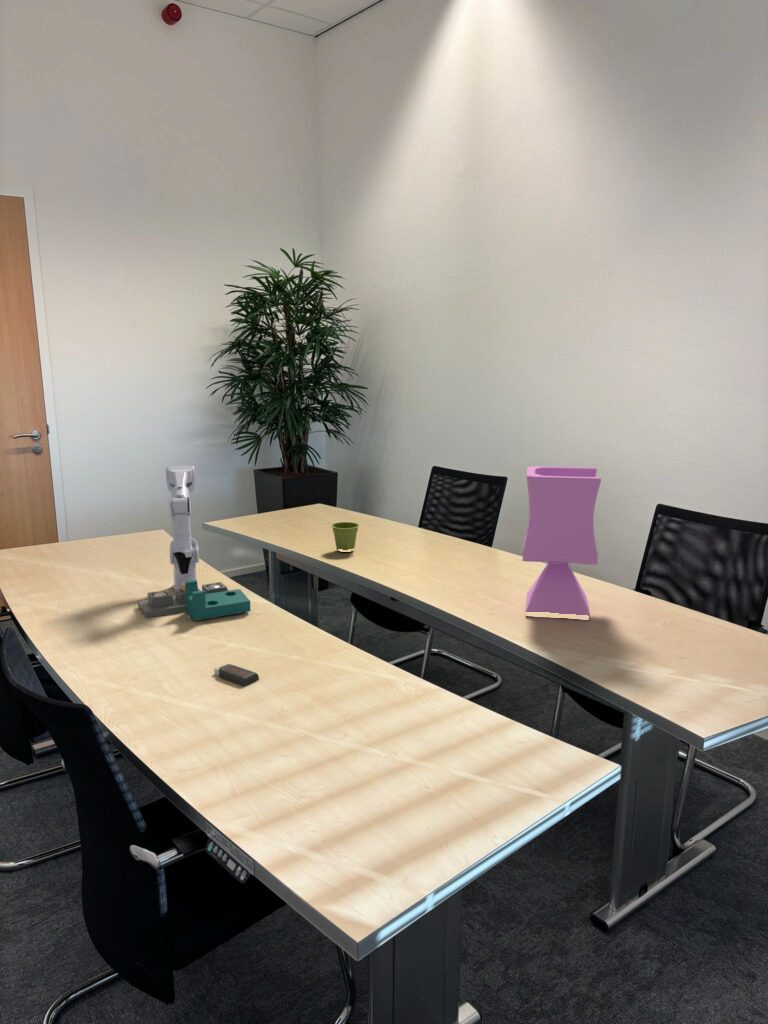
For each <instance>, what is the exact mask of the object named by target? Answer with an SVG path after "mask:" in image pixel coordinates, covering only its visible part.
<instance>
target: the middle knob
mask: <svg viewBox="0 0 768 1024" xmlns="http://www.w3.org/2000/svg"><path fill="white" fill-rule="evenodd" d="M181 592H182V593H185V583H182V584H181Z"/></svg>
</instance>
